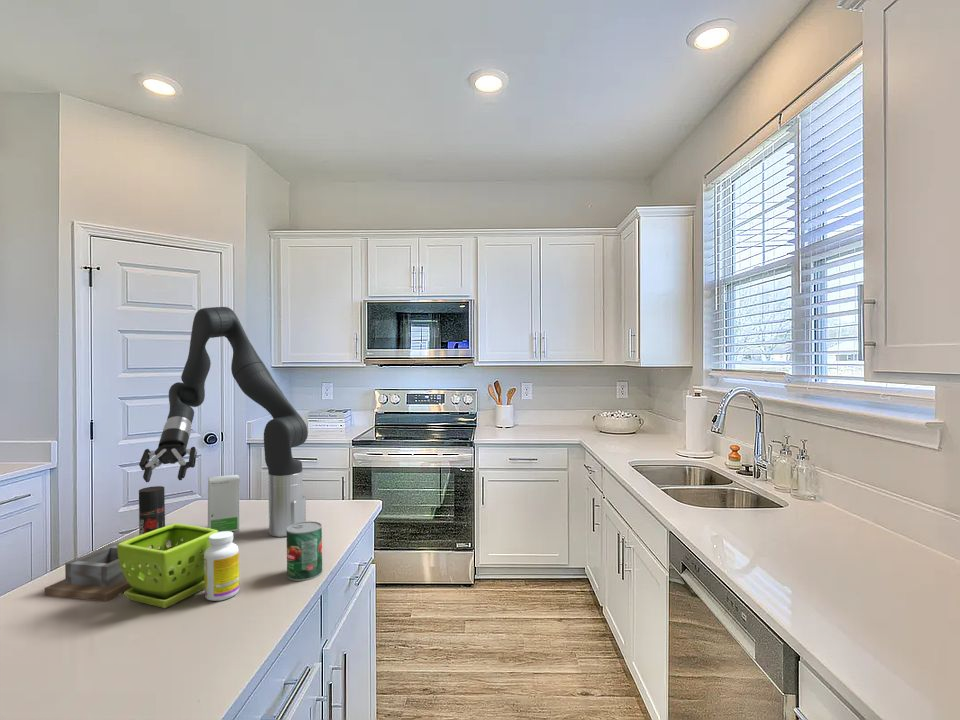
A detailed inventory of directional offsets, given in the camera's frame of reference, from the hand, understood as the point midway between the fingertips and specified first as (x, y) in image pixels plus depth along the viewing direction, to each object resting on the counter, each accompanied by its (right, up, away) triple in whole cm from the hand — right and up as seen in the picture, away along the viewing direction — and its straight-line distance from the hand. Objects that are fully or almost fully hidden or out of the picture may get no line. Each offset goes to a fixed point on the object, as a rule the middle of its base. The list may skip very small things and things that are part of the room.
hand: (163, 479), depth 148 cm
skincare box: (+17, -15, +2) cm, 23 cm away
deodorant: (+2, -16, -8) cm, 18 cm away
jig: (+8, -16, -29) cm, 34 cm away
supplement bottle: (+37, -16, -39) cm, 56 cm away
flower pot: (+26, -16, -39) cm, 49 cm away
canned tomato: (+51, -15, -29) cm, 61 cm away
